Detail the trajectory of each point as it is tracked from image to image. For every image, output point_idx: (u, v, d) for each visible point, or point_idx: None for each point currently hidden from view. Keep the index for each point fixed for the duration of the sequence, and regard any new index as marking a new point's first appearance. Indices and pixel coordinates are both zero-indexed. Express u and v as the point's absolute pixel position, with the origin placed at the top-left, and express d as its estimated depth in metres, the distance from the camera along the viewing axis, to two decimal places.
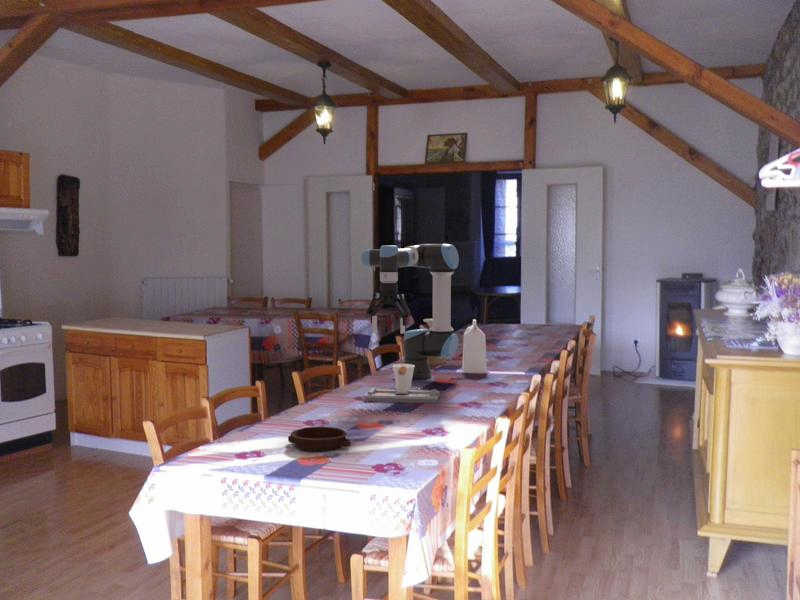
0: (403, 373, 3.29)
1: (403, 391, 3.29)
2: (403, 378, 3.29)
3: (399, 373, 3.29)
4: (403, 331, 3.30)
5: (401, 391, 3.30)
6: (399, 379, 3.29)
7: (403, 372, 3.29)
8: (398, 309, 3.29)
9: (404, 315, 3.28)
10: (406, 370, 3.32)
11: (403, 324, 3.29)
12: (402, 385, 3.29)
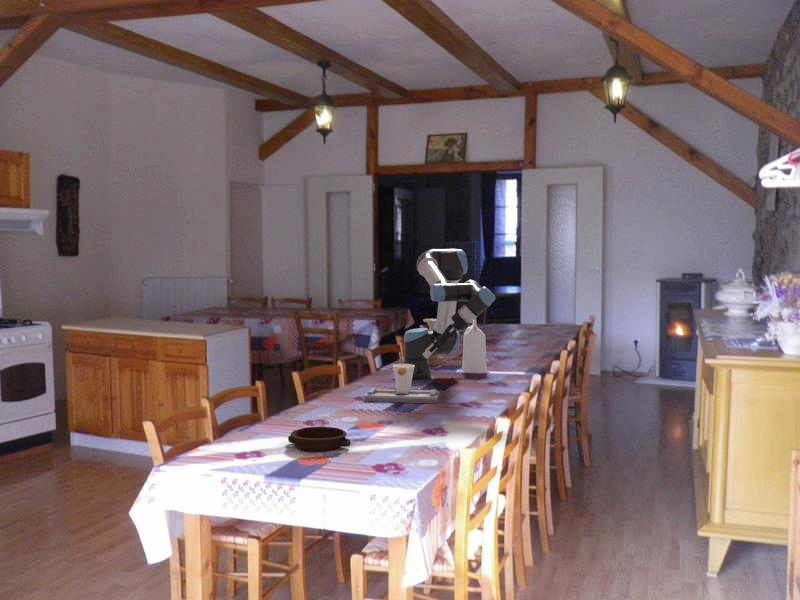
0: (403, 373, 3.29)
1: (403, 391, 3.29)
2: (403, 378, 3.29)
3: (399, 373, 3.29)
4: None
5: (401, 391, 3.30)
6: (399, 379, 3.29)
7: (403, 372, 3.29)
8: None
9: None
10: (406, 370, 3.32)
11: None
12: (402, 385, 3.29)
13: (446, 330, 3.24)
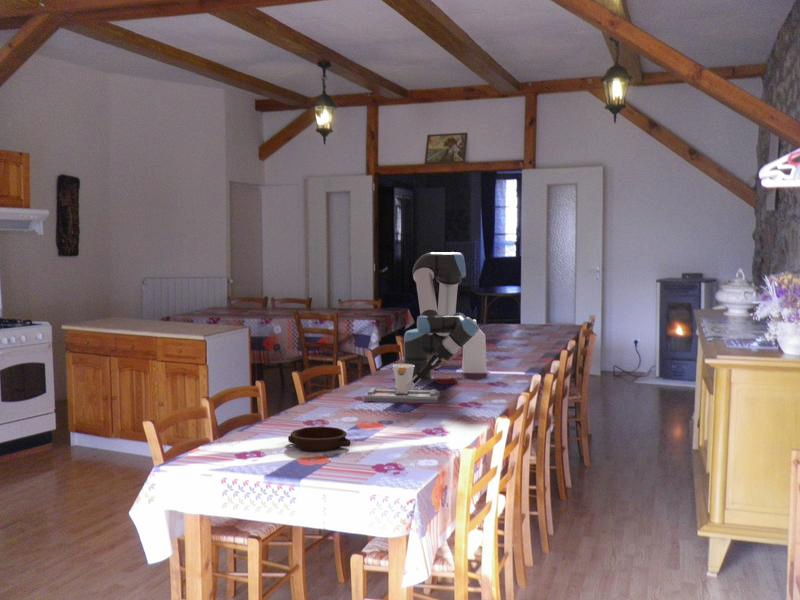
0: (403, 373, 3.29)
1: (403, 391, 3.29)
2: (403, 378, 3.29)
3: (399, 373, 3.29)
4: None
5: (401, 391, 3.30)
6: (399, 379, 3.29)
7: (403, 372, 3.29)
8: None
9: None
10: (406, 370, 3.32)
11: None
12: (402, 385, 3.29)
13: (429, 361, 3.27)
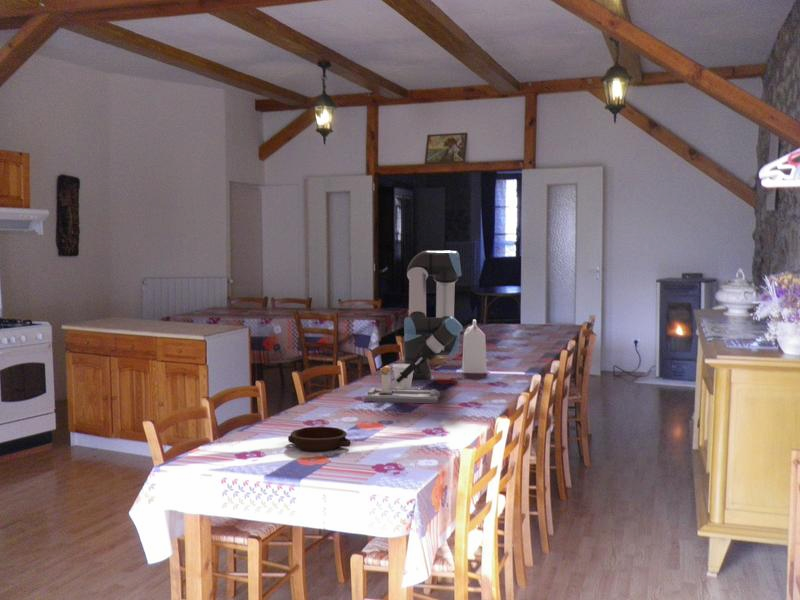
0: (387, 373, 3.30)
1: (386, 391, 3.30)
2: (386, 378, 3.30)
3: (382, 373, 3.30)
4: None
5: (384, 391, 3.30)
6: (382, 379, 3.30)
7: (387, 372, 3.30)
8: None
9: None
10: (390, 370, 3.33)
11: None
12: (385, 385, 3.30)
13: (413, 361, 3.28)
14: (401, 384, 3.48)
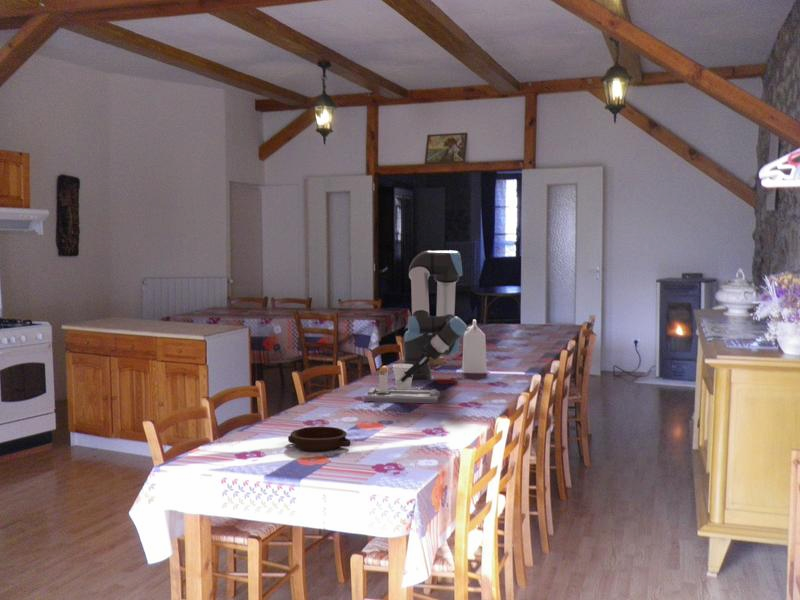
0: (384, 373, 3.30)
1: (384, 391, 3.30)
2: (384, 378, 3.30)
3: (380, 373, 3.30)
4: None
5: (382, 391, 3.31)
6: (380, 379, 3.30)
7: (384, 372, 3.30)
8: None
9: None
10: (387, 370, 3.33)
11: None
12: (383, 385, 3.30)
13: (417, 360, 3.28)
14: None
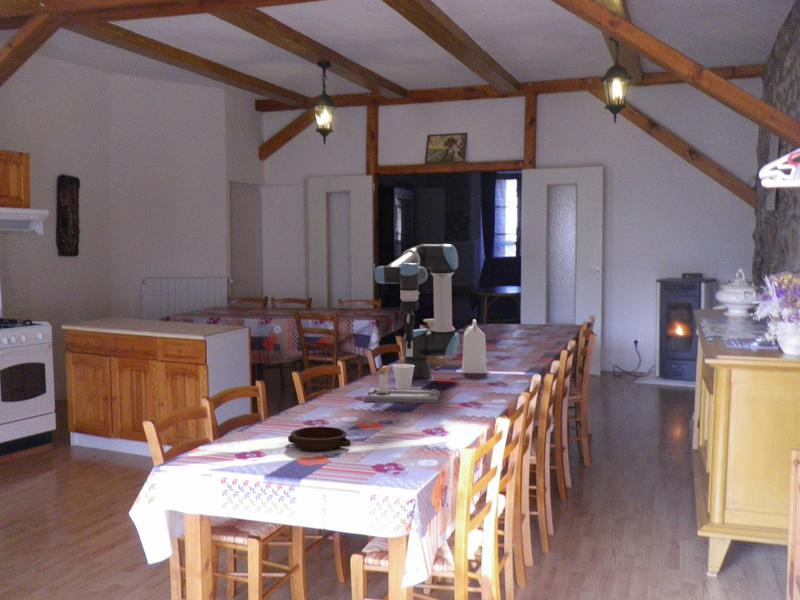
0: (384, 373, 3.30)
1: (384, 391, 3.30)
2: (384, 378, 3.30)
3: (380, 373, 3.30)
4: None
5: (382, 391, 3.31)
6: (380, 379, 3.30)
7: (384, 372, 3.30)
8: (412, 330, 3.31)
9: (412, 338, 3.31)
10: (387, 370, 3.33)
11: None
12: (383, 385, 3.30)
13: None
14: (401, 384, 3.48)
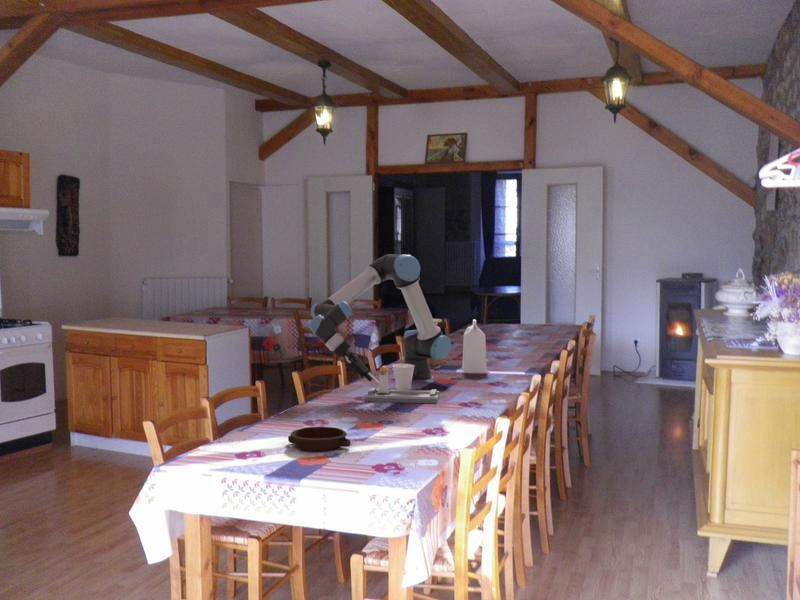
0: (384, 373, 3.30)
1: (384, 391, 3.30)
2: (384, 378, 3.30)
3: (380, 373, 3.30)
4: None
5: (382, 391, 3.31)
6: (380, 379, 3.30)
7: (384, 372, 3.30)
8: (361, 364, 3.35)
9: None
10: (387, 370, 3.33)
11: None
12: (383, 385, 3.30)
13: None
14: (401, 384, 3.48)
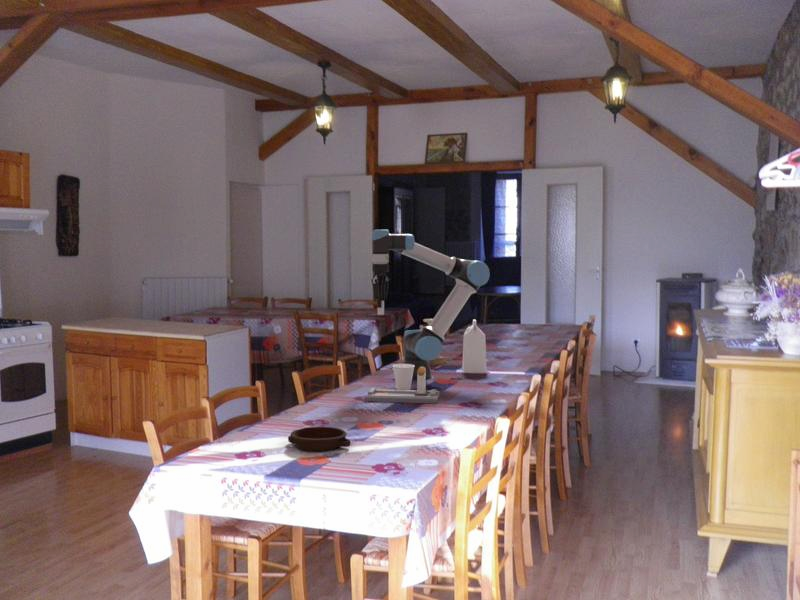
0: (422, 374, 3.28)
1: (422, 391, 3.28)
2: (422, 378, 3.28)
3: (418, 373, 3.28)
4: None
5: (420, 391, 3.28)
6: (418, 379, 3.28)
7: (422, 372, 3.28)
8: (384, 290, 3.62)
9: (384, 298, 3.63)
10: (425, 370, 3.31)
11: None
12: (421, 386, 3.28)
13: None
14: (401, 384, 3.48)
